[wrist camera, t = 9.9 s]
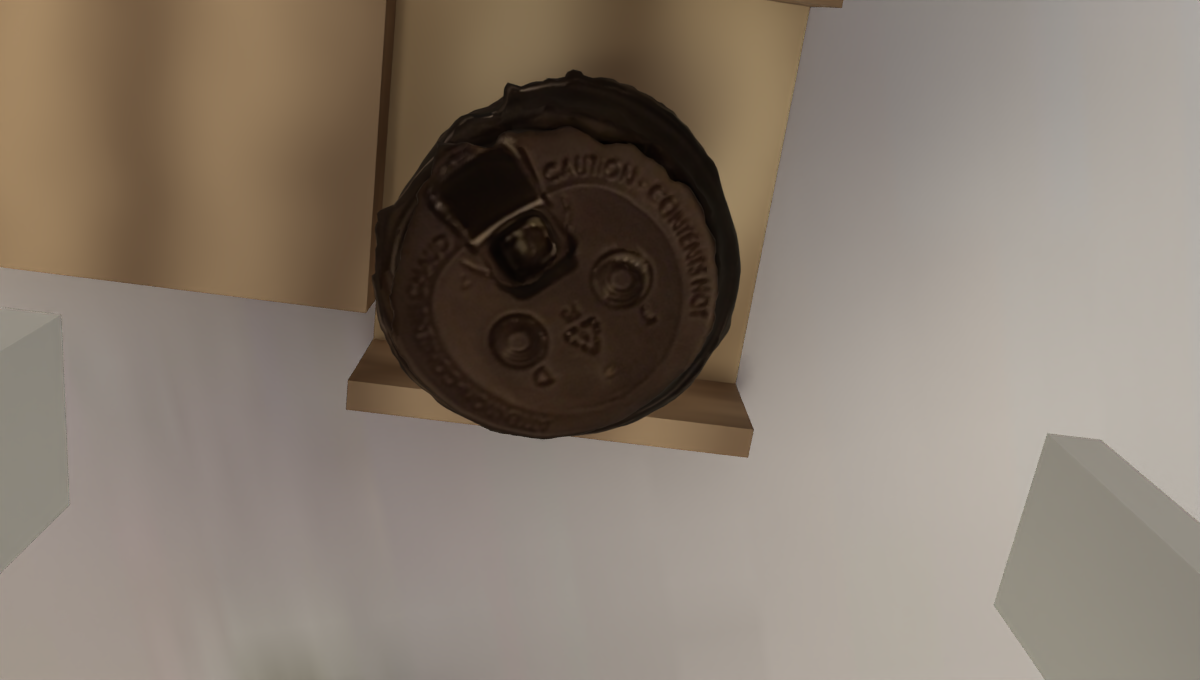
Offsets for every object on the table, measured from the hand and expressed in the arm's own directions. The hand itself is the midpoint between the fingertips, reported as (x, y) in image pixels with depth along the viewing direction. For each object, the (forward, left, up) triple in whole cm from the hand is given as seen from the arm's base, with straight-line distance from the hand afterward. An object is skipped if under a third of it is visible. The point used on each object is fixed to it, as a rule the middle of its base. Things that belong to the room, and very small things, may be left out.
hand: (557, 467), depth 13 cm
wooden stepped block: (-8, 0, -22) cm, 23 cm away
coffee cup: (0, 0, -21) cm, 21 cm away
